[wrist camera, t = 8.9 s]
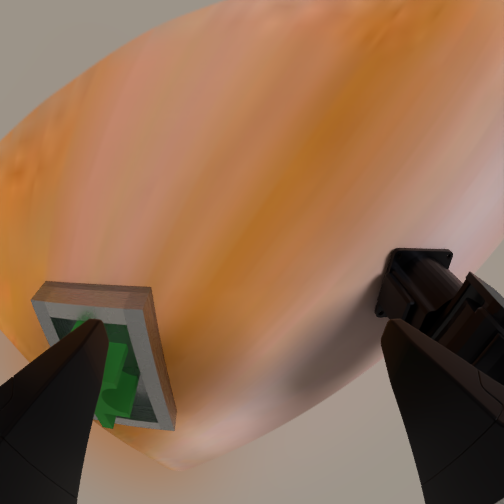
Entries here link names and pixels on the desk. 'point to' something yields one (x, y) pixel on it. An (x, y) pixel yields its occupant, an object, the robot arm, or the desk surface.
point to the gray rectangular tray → (116, 339)
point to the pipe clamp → (114, 386)
